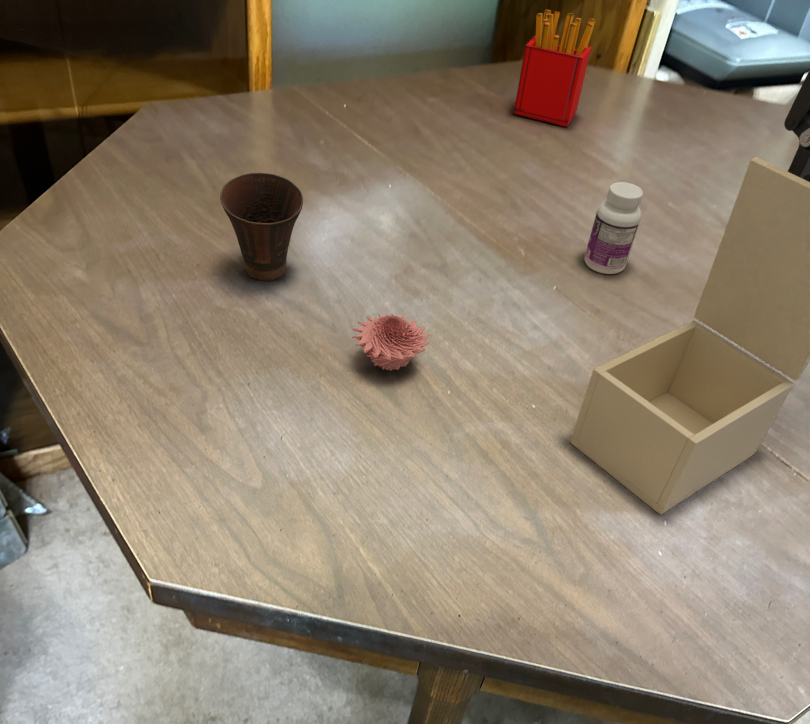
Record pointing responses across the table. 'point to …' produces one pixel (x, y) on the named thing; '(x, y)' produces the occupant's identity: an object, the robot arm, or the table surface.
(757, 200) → the box lid
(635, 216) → the pill bottle
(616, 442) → the tan wooden box
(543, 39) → the french fries container
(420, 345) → the flower
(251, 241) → the cup
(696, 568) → the table surface
